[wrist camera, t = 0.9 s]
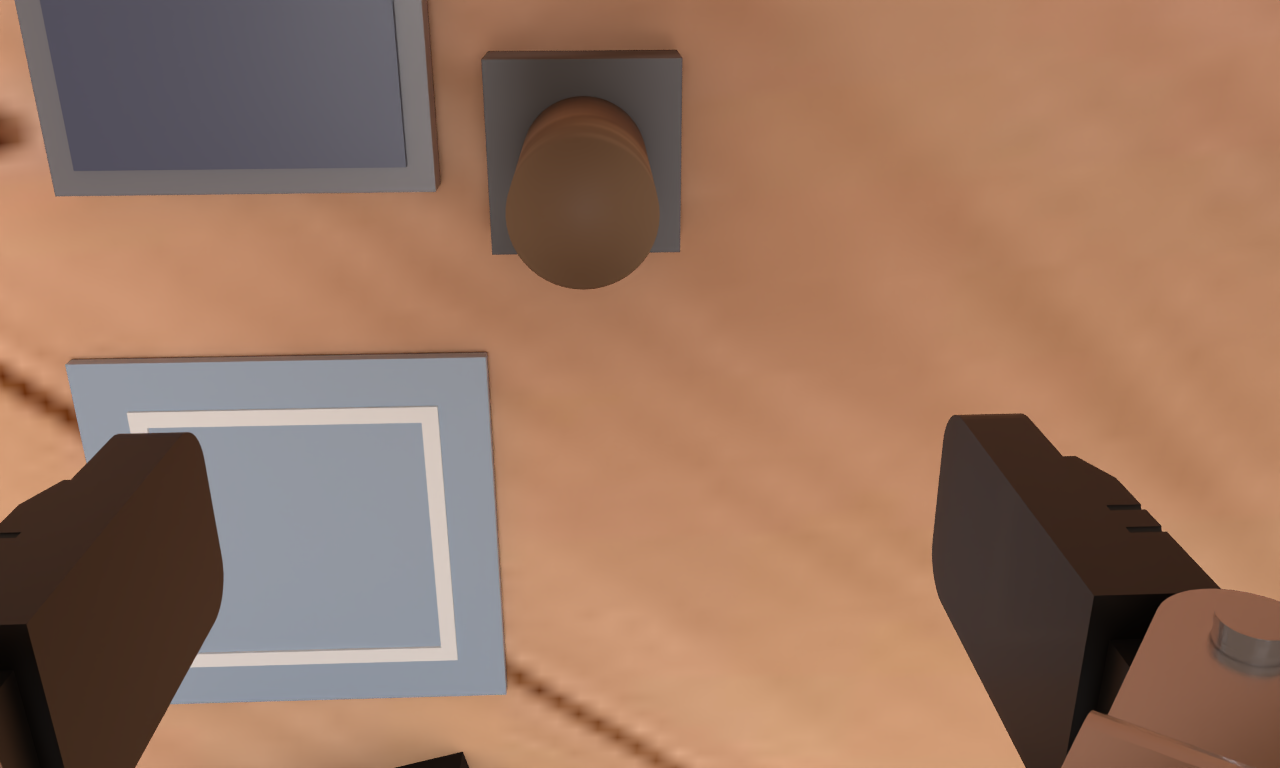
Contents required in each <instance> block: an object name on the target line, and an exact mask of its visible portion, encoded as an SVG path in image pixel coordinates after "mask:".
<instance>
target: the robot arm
mask: <svg viewBox="0 0 1280 768" xmlns="http://www.w3.org/2000/svg"><path fill="white" fill-rule="evenodd" d="M932 563H933V573H934V580H935V585H936V589H937V593H938V596H939V599H940V601H941V603H942V605H943V607H944V609H945V611H946V613H947V615H948V617H949V619H950V621H951V623H952V625H953V627H954V629H955V630H956V632H957V634H958V636H959V638H960V640H961V642H962V644H963V646H964V648H965V650H966V652H967V654H968V656H969V658H970V660H971V662H972V664H973V666H974V668H975V669H976V671H977V673H978V675H979V677H980V679H981V681H982V683H983V685H984V687H985V689H986V691H987V693H988V695H989V697H990V699H991V701H992V703H993V705H994V707H995V708H996V710H997V712H998V714H999V716H1000V718H1001V720H1002V722H1003V724H1004V726H1005V728H1006V730H1007V732H1008V734H1009V736H1010V738H1011V740H1012V742H1013V744H1014V746H1015V747H1016V749H1017V751H1018V753H1019V755H1020V757H1021V759H1022V761H1023V763H1024V765H1025V767H1026V768H1280V601H1276V600H1273V599H1270V598H1267V597H1264V596H1260V595H1256V594H1252V593H1247V592H1241V591H1235V590H1226V589H1221V588H1220V587H1219V586H1218V585H1217V584H1216V583H1215V582H1214V581H1213V580H1212V579H1211V578H1210V577H1209V576H1208V575H1207V574H1206V573H1205V572H1204V571H1203V569H1202V568H1201V567H1200V566H1199V565H1198V564H1197V563H1196V562H1195V561H1194V560H1193V559H1192V558H1191V557H1190V556H1189V555H1188V554H1187V553H1186V552H1185V550H1184V549H1183V548H1182V547H1181V546H1180V545H1179V544H1178V543H1177V542H1176V541H1175V540H1174V539H1173V538H1172V537H1171V536H1170V535H1169V534H1168V533H1167V532H1162V530H1161V525H1160V524H1159V523H1158V522H1157V521H1156V520H1155V519H1154V518H1153V517H1152V516H1151V515H1150V514H1149V512H1148V511H1147V510H1141V504H1140V503H1139V502H1138V501H1137V500H1136V499H1135V498H1134V497H1133V496H1132V494H1131V493H1130V492H1129V491H1128V490H1127V489H1126V488H1125V487H1124V486H1123V485H1122V484H1121V483H1120V482H1119V481H1118V480H1117V479H1116V478H1115V477H1113V476H1111V475H1109V474H1107V473H1106V472H1104V471H1102V470H1100V469H1098V468H1096V467H1094V466H1093V465H1091V464H1089V463H1087V462H1085V461H1083V460H1082V459H1080V458H1078V457H1076V456H1062V455H1061V454H1060V453H1059V452H1058V450H1057V449H1056V448H1055V447H1054V446H1053V445H1052V444H1051V443H1050V441H1049V440H1048V439H1047V438H1046V437H1045V436H1044V435H1043V434H1042V432H1041V431H1040V430H1039V429H1038V428H1037V427H1036V426H1035V424H1034V423H1033V422H1032V421H1031V420H1030V419H1029V418H1028V417H1027V416H1026V415H1024V414H981V415H954V416H952V417H951V418H950V419H949V421H948V423H947V426H946V429H945V434H944V440H943V448H942V458H941V467H940V476H939V486H938V495H937V505H936V514H935V524H934V533H933V544H932ZM223 583H224V571H223V561H222V555H221V549H220V544H219V538H218V532H217V527H216V521H215V516H214V510H213V504H212V499H211V493H210V488H209V482H208V476H207V471H206V465H205V460H204V455H203V451H202V448H201V445H200V443H199V441H198V439H197V438H196V436H195V435H194V434H192V433H190V432H172V433H130V434H116V435H114V436H113V437H112V438H110V439H109V441H108V442H107V443H106V444H105V445H104V446H103V447H102V448H101V449H100V450H99V451H98V452H97V453H96V454H95V455H94V456H93V457H92V458H91V459H90V461H89V462H88V463H87V464H86V465H85V466H84V467H83V468H82V469H81V470H80V471H79V472H78V473H77V474H76V475H75V476H74V477H73V478H72V479H71V480H63V481H61V482H59V483H57V484H56V485H54V486H52V487H50V488H48V489H47V490H45V491H43V492H41V493H39V494H38V495H36V496H34V497H32V498H30V499H29V500H27V501H25V502H23V503H21V504H19V505H18V506H17V507H16V508H15V509H14V510H13V511H12V512H11V513H10V514H9V515H8V516H7V517H6V518H5V519H4V520H3V521H2V522H1V523H0V768H135V767H136V765H137V763H138V761H139V759H140V758H141V756H142V754H143V752H144V750H145V749H146V747H147V745H148V743H149V741H150V739H151V738H152V736H153V734H154V732H155V730H156V728H157V727H158V725H159V723H160V721H161V719H162V718H163V716H164V714H165V712H166V710H167V708H168V707H169V705H170V703H171V701H172V699H173V698H174V696H175V694H176V692H177V690H178V688H179V687H180V685H181V683H182V681H183V679H184V678H185V676H186V674H187V672H188V670H189V668H190V667H191V665H192V663H193V661H194V659H195V657H196V656H197V654H198V652H199V650H200V648H201V647H202V645H203V643H204V641H205V639H206V637H207V636H208V634H209V632H210V630H211V628H212V627H213V625H214V623H215V621H216V619H217V616H218V613H219V610H220V606H221V601H222V595H223Z"/></svg>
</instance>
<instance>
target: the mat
mask: <svg viewBox="0 0 1280 768" xmlns="http://www.w3.org/2000/svg"><path fill="white" fill-rule="evenodd" d="M65 366H66V370H67V375H68V380H69V384H70V389H71V393H72V398H73V403H74V407H75V412H76V416H77V421H78V426H79V430H80V435H81V439H82V444H83V449H84V453H85V458H86V462H87V463H88V462H89V461H90V459H91V458H92V457H93V456H94V455H95V454H96V453H97V452H98V451H99V450H100V449H101V448H102V447H103V446H104V445H105V444H106V443H107V442H108V441H109V439H110V438H112V437H113V436H114V435H116V434H130V433H172V432H190V433H192V434H194V435H195V436H196V438H197V439H198V441H199V443H200V445H201V448H202V451H203V455H204V460H205V465H206V471H207V476H208V482H209V488H210V493H211V499H212V504H213V510H214V516H215V521H216V527H217V532H218V538H219V544H220V549H221V555H222V561H223V571H224V583H223V595H222V601H221V606H220V610H219V613H218V616H217V619H216V621H215V623H214V625H213V627H212V628H211V630H210V632H209V634H208V636H207V637H206V639H205V641H204V643H203V645H202V647H201V648H200V650H199V652H198V654H197V656H196V657H195V659H194V661H193V663H192V665H191V667H190V668H189V670H188V672H187V674H186V676H185V678H184V679H183V681H182V683H181V685H180V687H179V688H178V690H177V692H176V694H175V696H174V698H173V699H172V701H171V703H170V704H192V703H227V702H262V701H297V700H332V699H367V698H402V697H438V696H473V695H506V693H507V675H506V659H505V642H504V626H503V609H502V592H501V576H500V559H499V542H498V526H497V509H496V492H495V476H494V459H493V442H492V426H491V409H490V393H489V376H488V359H487V352H482V353H424V354H366V355H308V356H250V357H193V358H135V359H77V360H70V361H69V362H68V363H67V364H65Z"/></svg>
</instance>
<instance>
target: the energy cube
mask: <svg viewBox="0 0 1280 768" xmlns="http://www.w3.org/2000/svg"><path fill="white" fill-rule="evenodd" d="M396 768H469V766H468V764H467V761H466V759H465V756H464V754H463V752H460V753H456V754H451V755H447V756H443V757H439V758H434V759H430V760H426V761H422V762H417V763H413V764H409V765H405V766H401V767H396Z"/></svg>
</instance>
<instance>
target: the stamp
mask: <svg viewBox="0 0 1280 768" xmlns="http://www.w3.org/2000/svg"><path fill="white" fill-rule="evenodd" d="M481 61H482V79H483V97H484V115H485V133H486V151H487V169H488V187H489V205H490V222H491V240H492V255H501V254H518V255H519V256H520V258H521V259H522V260H523V262H524V263H525V264H526V265H527V266H528V267H529V268H530V269H531V270H532V271H534V272H535V273H536V274H537V275H539V276H540V277H542V278H544V279H545V280H547V281H549V282H551V283H554V284H556V285H559V286H562V287H566V288H572V289H595V288H600V287H604V286H607V285H610V284H613V283H615V282H617V281H619V280H621V279H623V278H625V277H626V276H628V275H629V274H630V273H632V272H633V271H634V270H635V269H636V268H637V267H638V266H639V265H640V264H641V263H642V262H643V261H644V259H645V258H646V257H647V255H648V254H649V252H680V210H681V124H682V57H681V56H680V54H679V53H678V51H677V50H610V51H488V52H487V53H486V55H485V56H484V57H483V58H482V60H481Z"/></svg>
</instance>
